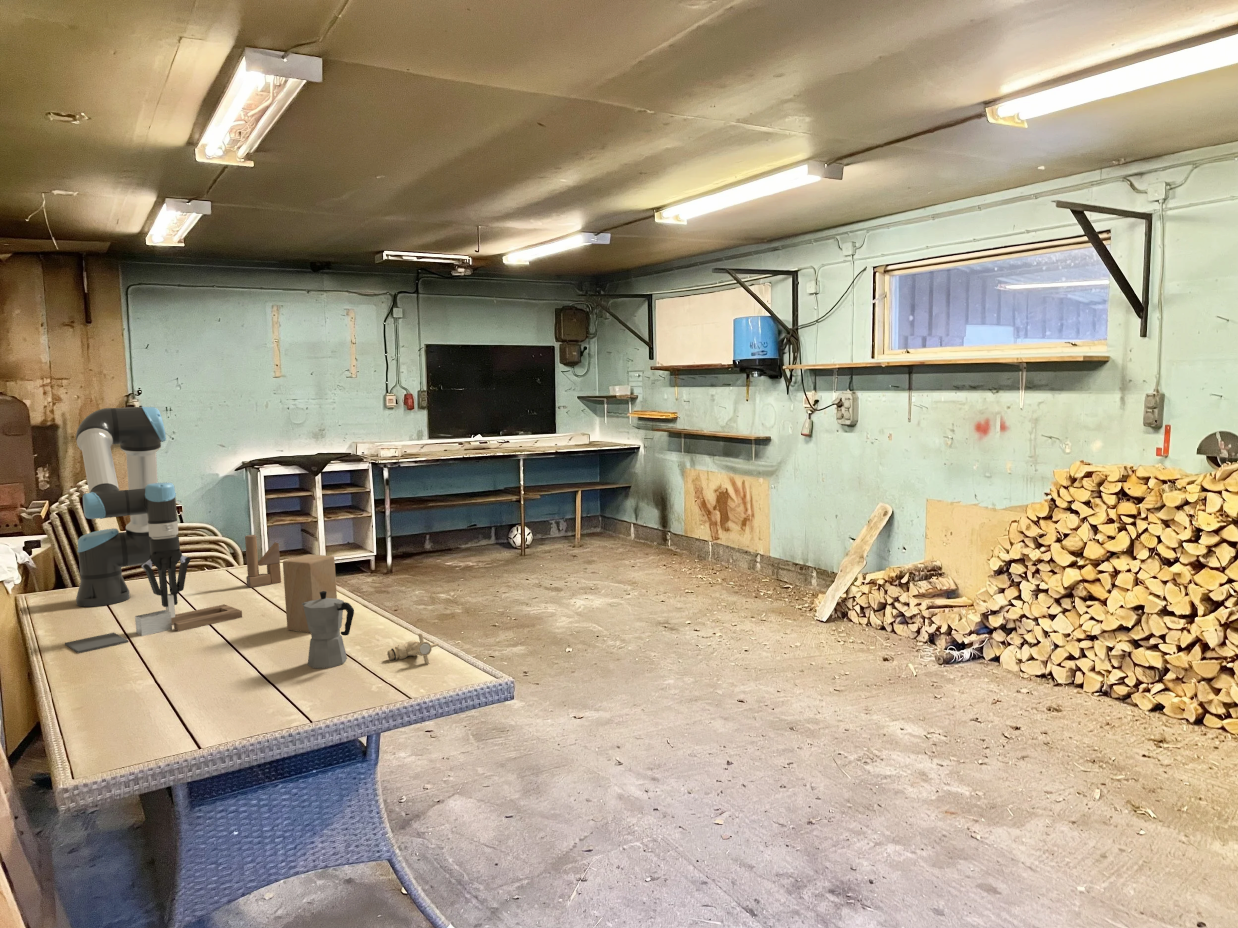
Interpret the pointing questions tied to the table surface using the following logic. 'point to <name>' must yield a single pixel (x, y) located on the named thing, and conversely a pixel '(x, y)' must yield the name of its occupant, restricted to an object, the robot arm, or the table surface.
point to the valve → (412, 649)
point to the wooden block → (306, 586)
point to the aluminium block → (153, 622)
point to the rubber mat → (96, 642)
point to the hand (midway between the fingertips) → (170, 616)
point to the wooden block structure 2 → (269, 559)
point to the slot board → (205, 617)
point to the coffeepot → (327, 631)
